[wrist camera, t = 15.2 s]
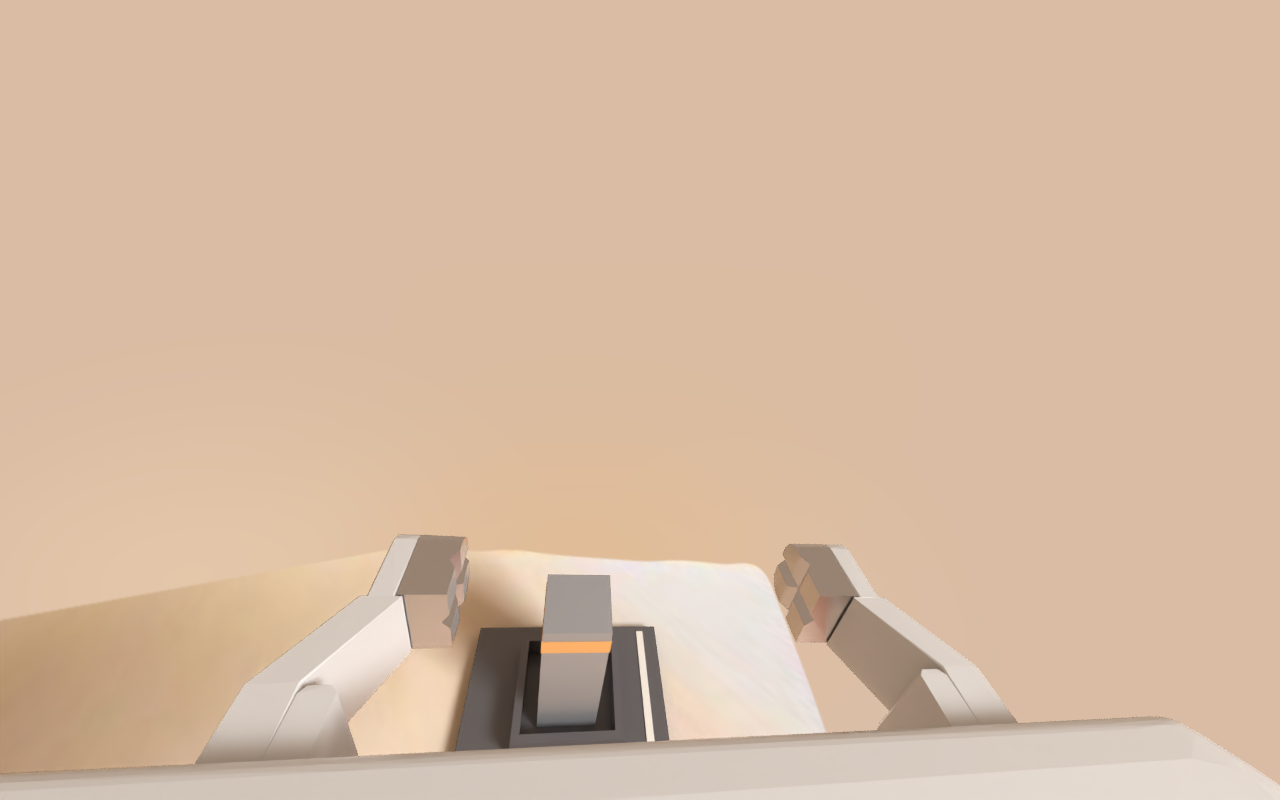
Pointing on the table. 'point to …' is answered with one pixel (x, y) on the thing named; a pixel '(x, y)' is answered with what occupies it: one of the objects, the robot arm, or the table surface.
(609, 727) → the socket
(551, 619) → the plug
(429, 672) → the table surface
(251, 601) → the table surface
